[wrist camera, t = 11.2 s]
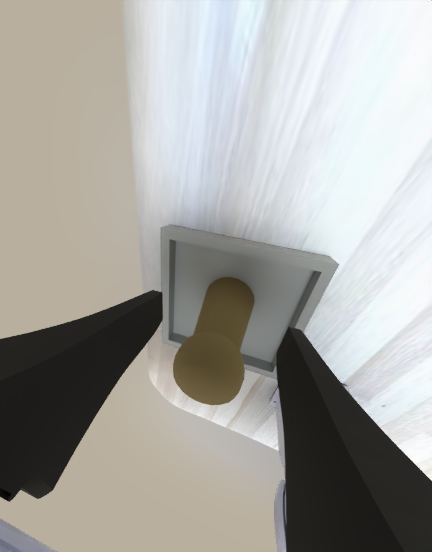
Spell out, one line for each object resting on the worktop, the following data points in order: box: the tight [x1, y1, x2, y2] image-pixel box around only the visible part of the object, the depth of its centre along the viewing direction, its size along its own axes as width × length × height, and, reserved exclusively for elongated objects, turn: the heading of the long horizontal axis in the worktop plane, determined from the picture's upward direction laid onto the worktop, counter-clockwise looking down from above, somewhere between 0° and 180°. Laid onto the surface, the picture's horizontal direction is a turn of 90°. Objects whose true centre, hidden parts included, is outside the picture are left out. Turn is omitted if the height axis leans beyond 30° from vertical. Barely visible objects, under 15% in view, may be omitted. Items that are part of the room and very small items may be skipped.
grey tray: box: [161, 225, 339, 379], centre depth 20 cm, size 17×17×2 cm
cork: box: [173, 277, 255, 405], centre depth 15 cm, size 6×6×11 cm
